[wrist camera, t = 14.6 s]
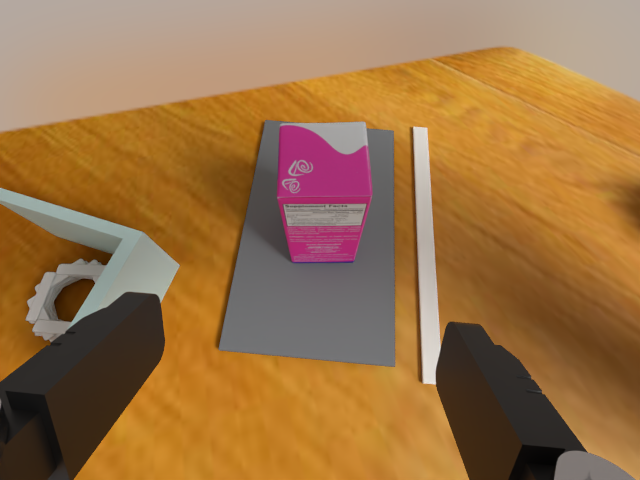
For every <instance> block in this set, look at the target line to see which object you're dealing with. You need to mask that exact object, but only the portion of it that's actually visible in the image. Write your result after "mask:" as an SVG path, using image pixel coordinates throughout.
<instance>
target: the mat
mask: <svg viewBox="0 0 640 480" xmlns="http://www.w3.org/2000/svg"><path fill="white" fill-rule="evenodd" d="M282 123H294V122H282V121H270V120H265V125H264V130H263V135H262V139H261V144H260V149H259V154H258V159H257V164H256V169H255V174H254V179H253V183H252V188H251V193H250V198H249V203H248V208H247V213H246V218H245V223H244V227H243V232H242V237H241V242H240V247H239V252H238V257H237V262H236V266H235V271H234V276H233V281H232V286H231V291H230V296H229V301H228V306H227V310H226V315H225V320H224V325H223V330H222V335H221V340H220V345H219V350H221V351H231V352H242V353H252V354H263V355H273V356H284V357H295V358H305V359H316V360H326V361H337V362H347V363H358V364H369V365H379V366H390V367H395V275H394V131H391V130H379V129H367V128H366V130H367V139H368V149H369V158H370V167H371V179H372V192H373V195H372V199H371V203H370V207H369V210H368V214H367V218H366V221H365V224H364V228H363V231H362V235H361V238H360V242H359V246H358V249H357V253H356V256H355V260H354V262H353V263H292V261H291V256H290V252H289V248H288V243H287V239H286V235H285V230H284V226H283V221H282V217H281V213H280V208H279V204H278V200H277V178H278V151H279V129H280V124H282Z"/></svg>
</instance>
